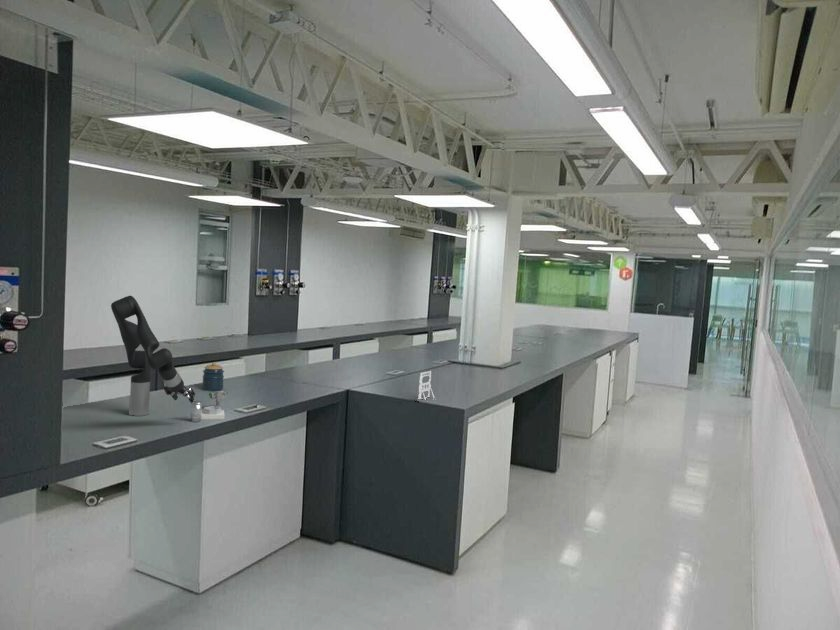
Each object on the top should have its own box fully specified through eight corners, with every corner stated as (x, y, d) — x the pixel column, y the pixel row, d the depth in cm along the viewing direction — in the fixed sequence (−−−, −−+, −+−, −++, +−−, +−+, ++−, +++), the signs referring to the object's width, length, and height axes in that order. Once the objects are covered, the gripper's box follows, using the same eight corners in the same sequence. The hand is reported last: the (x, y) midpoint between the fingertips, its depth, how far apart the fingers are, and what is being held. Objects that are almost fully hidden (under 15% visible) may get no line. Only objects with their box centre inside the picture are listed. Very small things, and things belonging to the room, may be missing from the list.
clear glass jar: (190, 422, 306) (190, 403, 306) (190, 420, 311) (191, 400, 311) (201, 422, 308) (202, 403, 307) (201, 419, 313) (202, 400, 313)
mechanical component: (207, 409, 335) (208, 392, 335) (224, 408, 343) (225, 390, 342) (210, 410, 333) (210, 393, 333) (227, 409, 340) (228, 391, 340)
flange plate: (200, 419, 314) (200, 410, 314) (200, 413, 325) (200, 405, 325) (224, 418, 318) (224, 410, 318) (223, 413, 329) (224, 405, 329)
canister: (197, 388, 390) (199, 361, 389) (214, 386, 401) (215, 360, 400) (210, 392, 383) (212, 364, 382) (227, 389, 394) (228, 362, 392)
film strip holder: (419, 398, 407) (421, 369, 406) (437, 401, 400) (439, 371, 399) (408, 401, 394) (410, 371, 393) (426, 405, 388) (428, 374, 386)
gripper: (155, 384, 285) (167, 404, 297) (182, 388, 283) (194, 408, 295) (162, 372, 290) (174, 391, 302) (190, 375, 288) (201, 395, 300)
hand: (184, 399), depth 299 cm, fingers open, 8 cm apart
